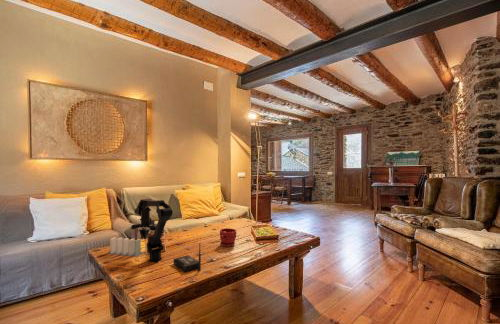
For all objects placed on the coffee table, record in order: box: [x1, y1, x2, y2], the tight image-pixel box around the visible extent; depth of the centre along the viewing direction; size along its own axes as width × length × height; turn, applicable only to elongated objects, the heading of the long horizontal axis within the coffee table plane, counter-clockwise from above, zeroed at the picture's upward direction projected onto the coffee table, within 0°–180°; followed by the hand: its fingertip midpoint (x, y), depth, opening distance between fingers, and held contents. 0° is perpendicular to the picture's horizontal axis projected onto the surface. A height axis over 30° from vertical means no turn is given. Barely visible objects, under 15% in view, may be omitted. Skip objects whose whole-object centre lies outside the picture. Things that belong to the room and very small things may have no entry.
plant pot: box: [219, 228, 237, 247], centre depth 200 cm, size 13×13×12 cm
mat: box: [105, 251, 145, 258], centre depth 180 cm, size 25×9×1 cm, turn 78°
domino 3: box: [128, 238, 136, 255], centre depth 179 cm, size 1×5×10 cm, turn 168°
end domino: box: [109, 236, 118, 253], centre depth 182 cm, size 1×5×10 cm, turn 168°
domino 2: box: [122, 237, 130, 254], centre depth 180 cm, size 1×5×10 cm, turn 168°
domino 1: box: [116, 237, 124, 254], centre depth 181 cm, size 1×5×10 cm, turn 168°
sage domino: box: [134, 238, 142, 255], centre depth 178 cm, size 1×5×10 cm, turn 168°
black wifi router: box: [173, 243, 202, 274], centre depth 157 cm, size 20×14×17 cm
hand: (145, 239), depth 176 cm, fingers closed
